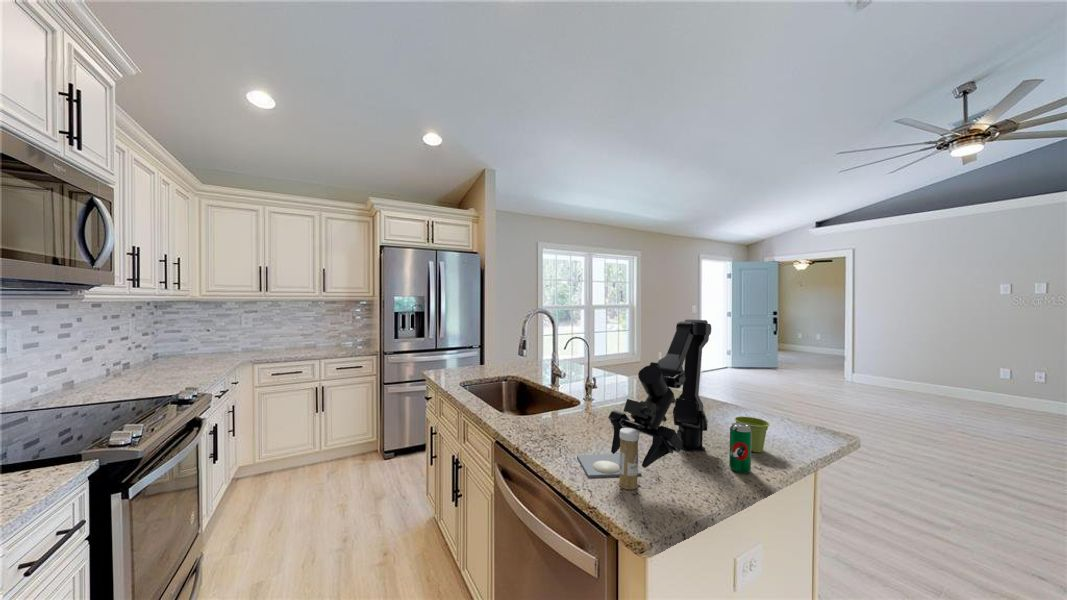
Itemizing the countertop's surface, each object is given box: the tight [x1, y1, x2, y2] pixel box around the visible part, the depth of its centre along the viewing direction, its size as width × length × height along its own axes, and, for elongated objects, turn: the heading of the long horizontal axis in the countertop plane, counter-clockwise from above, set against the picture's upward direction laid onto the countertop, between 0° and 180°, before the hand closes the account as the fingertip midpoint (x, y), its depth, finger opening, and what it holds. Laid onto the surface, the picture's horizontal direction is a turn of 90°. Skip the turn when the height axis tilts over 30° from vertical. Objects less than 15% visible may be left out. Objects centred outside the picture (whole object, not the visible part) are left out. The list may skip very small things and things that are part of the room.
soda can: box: [728, 422, 752, 474], centre depth 99 cm, size 5×5×12 cm
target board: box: [576, 453, 642, 478], centre depth 100 cm, size 14×12×1 cm
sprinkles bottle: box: [618, 428, 640, 491], centre depth 90 cm, size 5×5×14 cm
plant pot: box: [734, 415, 771, 453], centre depth 114 cm, size 9×9×9 cm
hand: (627, 459), depth 89 cm, fingers open, 9 cm apart
